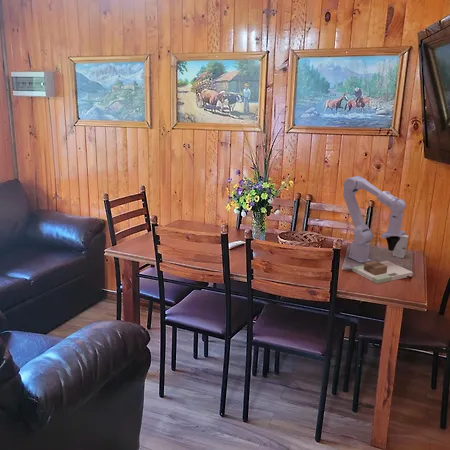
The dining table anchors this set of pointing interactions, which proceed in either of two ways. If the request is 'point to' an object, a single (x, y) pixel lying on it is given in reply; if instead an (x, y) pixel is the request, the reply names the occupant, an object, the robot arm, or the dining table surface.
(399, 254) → the skincare box
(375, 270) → the walnut block
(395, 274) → the board
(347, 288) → the dining table surface
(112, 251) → the dining table surface
